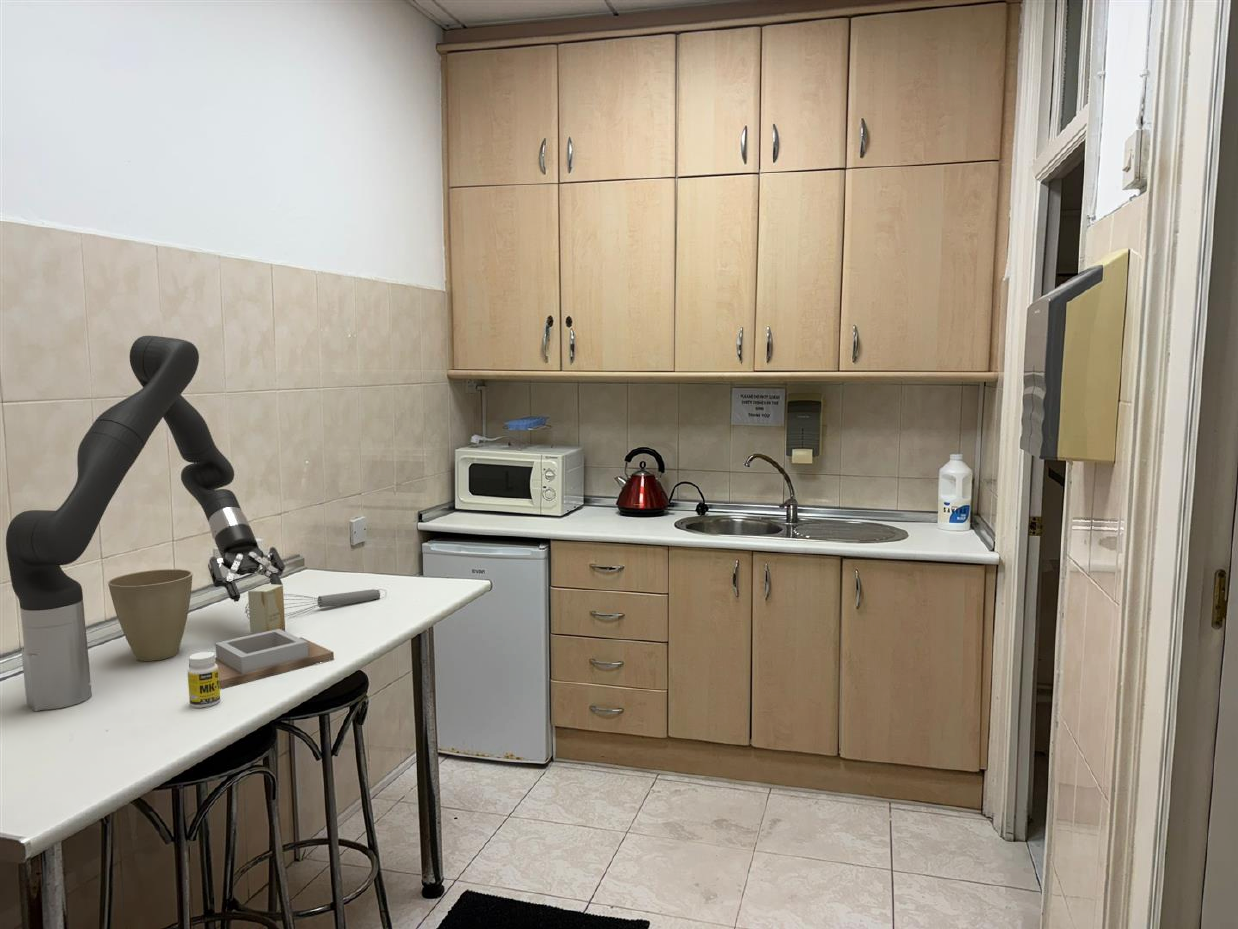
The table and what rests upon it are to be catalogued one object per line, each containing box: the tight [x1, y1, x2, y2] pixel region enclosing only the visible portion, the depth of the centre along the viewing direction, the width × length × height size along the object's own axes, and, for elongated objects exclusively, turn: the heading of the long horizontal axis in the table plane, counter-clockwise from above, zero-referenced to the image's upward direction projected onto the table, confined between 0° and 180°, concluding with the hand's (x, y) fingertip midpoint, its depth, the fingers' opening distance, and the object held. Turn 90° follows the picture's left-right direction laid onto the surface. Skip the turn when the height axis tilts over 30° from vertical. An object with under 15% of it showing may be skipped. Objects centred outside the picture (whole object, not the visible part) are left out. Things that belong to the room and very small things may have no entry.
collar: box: [214, 629, 308, 674], centre depth 175 cm, size 12×12×3 cm
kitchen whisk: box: [244, 588, 387, 620], centre depth 213 cm, size 6×34×6 cm, turn 132°
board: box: [188, 636, 335, 690], centre depth 175 cm, size 22×14×2 cm, turn 134°
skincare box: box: [247, 583, 286, 635], centre depth 187 cm, size 6×4×12 cm
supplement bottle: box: [187, 651, 221, 709], centre depth 156 cm, size 5×5×8 cm
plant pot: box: [107, 568, 194, 662], centre depth 182 cm, size 15×15×16 cm
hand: (258, 595), depth 189 cm, fingers open, 8 cm apart
